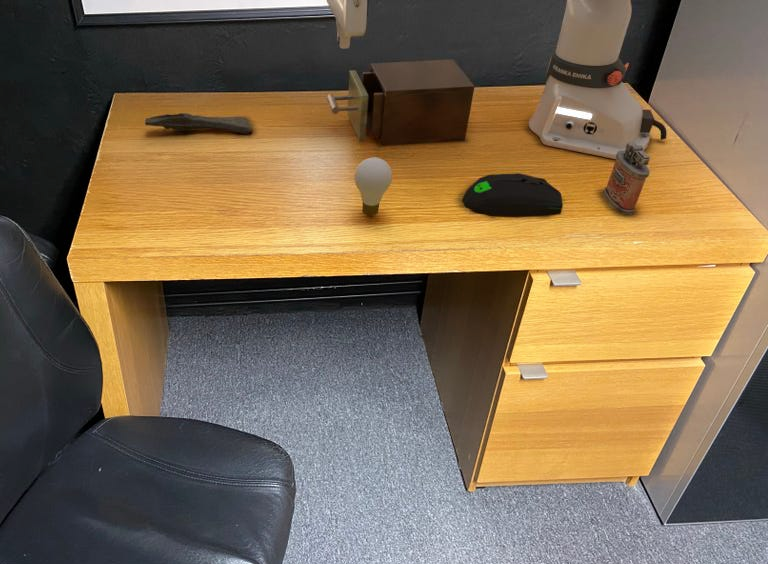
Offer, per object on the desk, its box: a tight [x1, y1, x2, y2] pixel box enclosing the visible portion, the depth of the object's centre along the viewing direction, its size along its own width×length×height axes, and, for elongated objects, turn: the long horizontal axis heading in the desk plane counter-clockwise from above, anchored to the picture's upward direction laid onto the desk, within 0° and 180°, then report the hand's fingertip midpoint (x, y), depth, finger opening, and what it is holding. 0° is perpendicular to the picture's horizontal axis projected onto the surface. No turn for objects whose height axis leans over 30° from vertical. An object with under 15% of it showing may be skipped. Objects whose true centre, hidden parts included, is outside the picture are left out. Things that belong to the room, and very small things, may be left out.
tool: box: [144, 112, 253, 134], centre depth 137 cm, size 21×8×3 cm, turn 101°
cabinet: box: [369, 59, 476, 147], centre depth 135 cm, size 17×14×11 cm
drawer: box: [326, 69, 385, 142], centre depth 134 cm, size 20×12×9 cm, turn 97°
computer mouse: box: [461, 172, 564, 218], centre depth 117 cm, size 11×16×4 cm
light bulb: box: [354, 156, 393, 217], centre depth 111 cm, size 6×6×10 cm
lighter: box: [602, 142, 651, 216], centre depth 113 cm, size 8×3×10 cm, turn 5°
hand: (343, 45), depth 126 cm, fingers closed
